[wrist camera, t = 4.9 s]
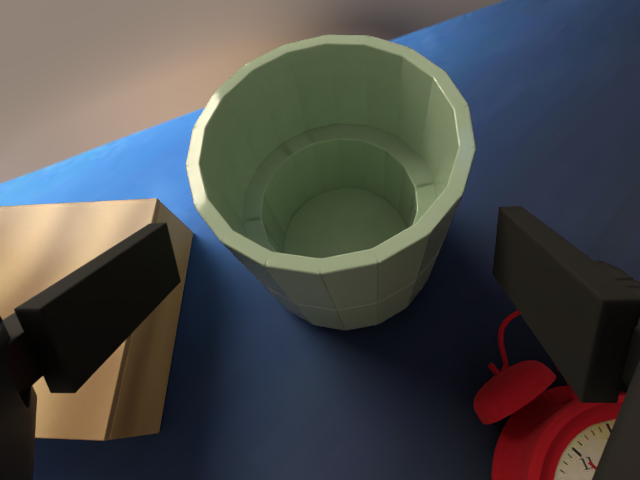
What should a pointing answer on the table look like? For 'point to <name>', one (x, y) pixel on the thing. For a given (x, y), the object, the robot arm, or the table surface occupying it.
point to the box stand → (135, 352)
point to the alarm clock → (542, 422)
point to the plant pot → (334, 174)
